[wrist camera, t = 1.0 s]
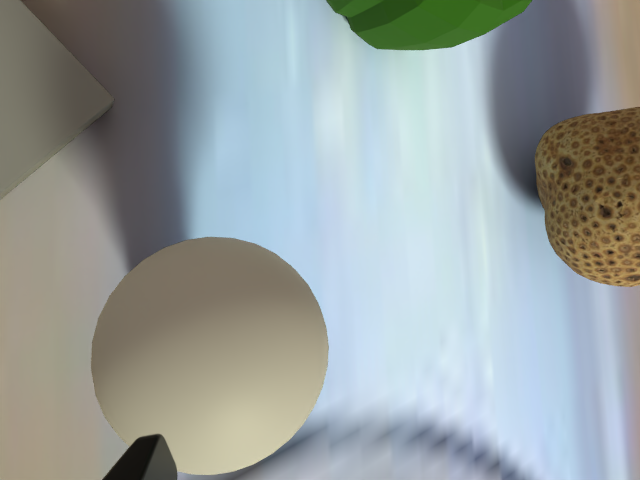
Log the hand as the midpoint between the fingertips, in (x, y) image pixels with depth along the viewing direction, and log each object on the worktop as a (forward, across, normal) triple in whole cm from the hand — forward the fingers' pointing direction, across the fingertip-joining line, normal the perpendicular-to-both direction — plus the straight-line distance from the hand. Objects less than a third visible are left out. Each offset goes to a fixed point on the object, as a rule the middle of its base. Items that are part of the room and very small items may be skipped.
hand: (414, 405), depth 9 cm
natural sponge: (+20, -12, +7) cm, 25 cm away
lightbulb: (+11, +8, +4) cm, 14 cm away
